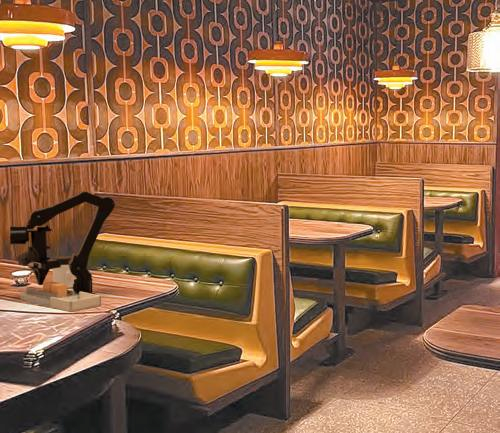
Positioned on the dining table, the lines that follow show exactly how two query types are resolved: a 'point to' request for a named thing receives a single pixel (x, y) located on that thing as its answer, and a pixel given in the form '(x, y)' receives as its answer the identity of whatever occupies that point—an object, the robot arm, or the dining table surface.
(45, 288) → the orange rounded block
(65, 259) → the jar
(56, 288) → the orange cube
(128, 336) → the dining table surface
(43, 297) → the slot plate
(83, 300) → the chip tray
